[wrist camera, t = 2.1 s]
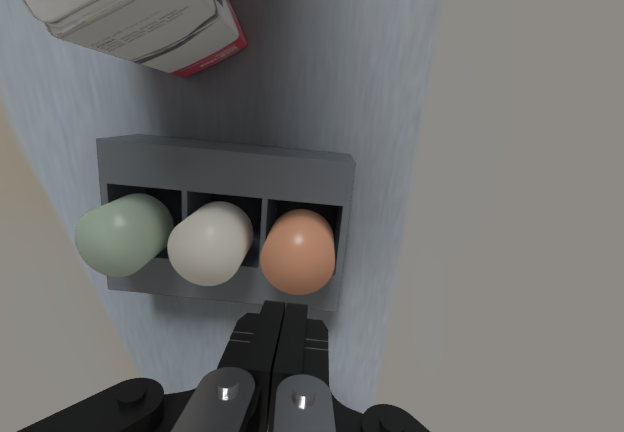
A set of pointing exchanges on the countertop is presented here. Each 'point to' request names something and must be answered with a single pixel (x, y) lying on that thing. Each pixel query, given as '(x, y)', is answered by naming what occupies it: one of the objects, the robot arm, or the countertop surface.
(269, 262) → the terracotta button
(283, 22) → the countertop surface
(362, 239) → the countertop surface
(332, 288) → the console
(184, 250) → the cream button
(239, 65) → the countertop surface
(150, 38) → the ink box
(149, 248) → the sage button
